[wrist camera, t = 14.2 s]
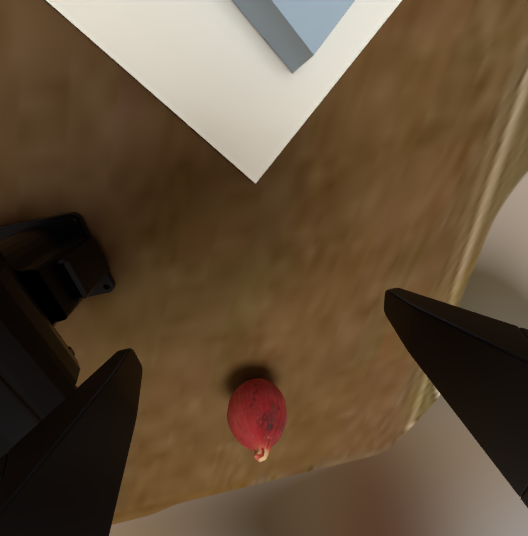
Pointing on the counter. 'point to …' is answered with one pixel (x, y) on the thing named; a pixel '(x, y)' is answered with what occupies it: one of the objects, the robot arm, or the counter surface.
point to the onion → (257, 416)
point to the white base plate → (224, 67)
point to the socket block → (294, 25)
